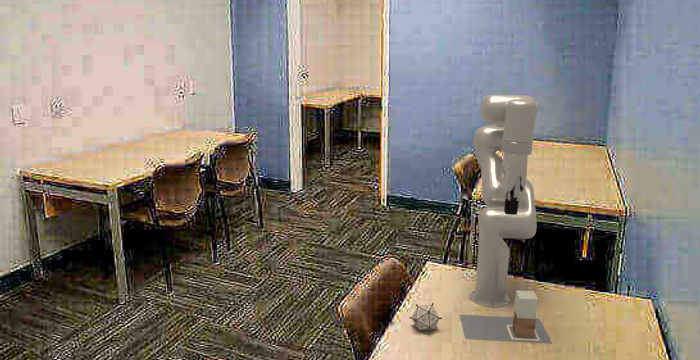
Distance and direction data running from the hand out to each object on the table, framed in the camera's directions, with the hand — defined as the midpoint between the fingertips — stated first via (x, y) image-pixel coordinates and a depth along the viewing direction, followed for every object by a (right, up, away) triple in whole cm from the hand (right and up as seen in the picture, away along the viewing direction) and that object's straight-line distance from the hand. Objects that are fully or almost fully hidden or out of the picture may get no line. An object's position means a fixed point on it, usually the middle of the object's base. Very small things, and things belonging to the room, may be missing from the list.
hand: (510, 213), depth 155 cm
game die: (-22, -35, +12) cm, 43 cm away
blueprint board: (+2, -35, +13) cm, 37 cm away
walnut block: (+6, -35, +10) cm, 37 cm away
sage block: (+6, -29, +9) cm, 31 cm away
